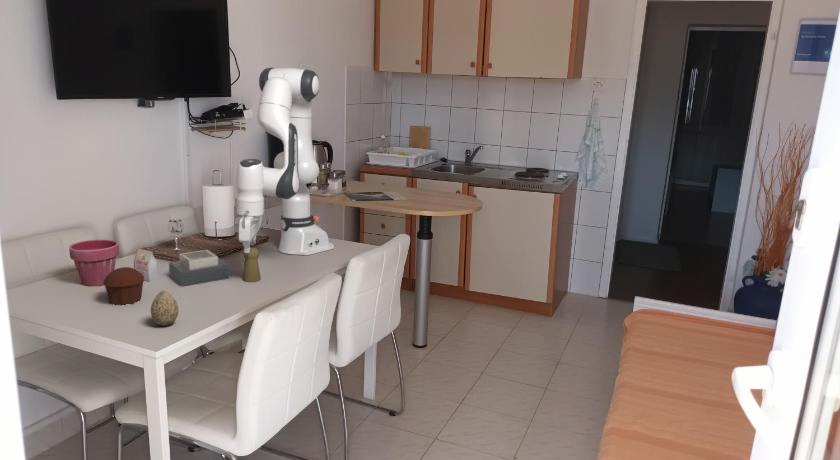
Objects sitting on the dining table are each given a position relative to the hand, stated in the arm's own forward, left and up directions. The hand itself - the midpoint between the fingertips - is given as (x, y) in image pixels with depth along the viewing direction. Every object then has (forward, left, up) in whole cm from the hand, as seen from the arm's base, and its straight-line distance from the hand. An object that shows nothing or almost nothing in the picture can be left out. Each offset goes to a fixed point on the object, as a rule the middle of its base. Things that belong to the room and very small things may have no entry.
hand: (249, 248), depth 209 cm
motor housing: (+13, -11, -11) cm, 21 cm away
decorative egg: (+35, +23, -11) cm, 44 cm away
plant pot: (+42, -24, -11) cm, 50 cm away
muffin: (+39, -2, -11) cm, 41 cm away
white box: (+28, -19, -12) cm, 36 cm away
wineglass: (+9, -46, -11) cm, 49 cm away
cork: (-1, 0, -11) cm, 11 cm away
